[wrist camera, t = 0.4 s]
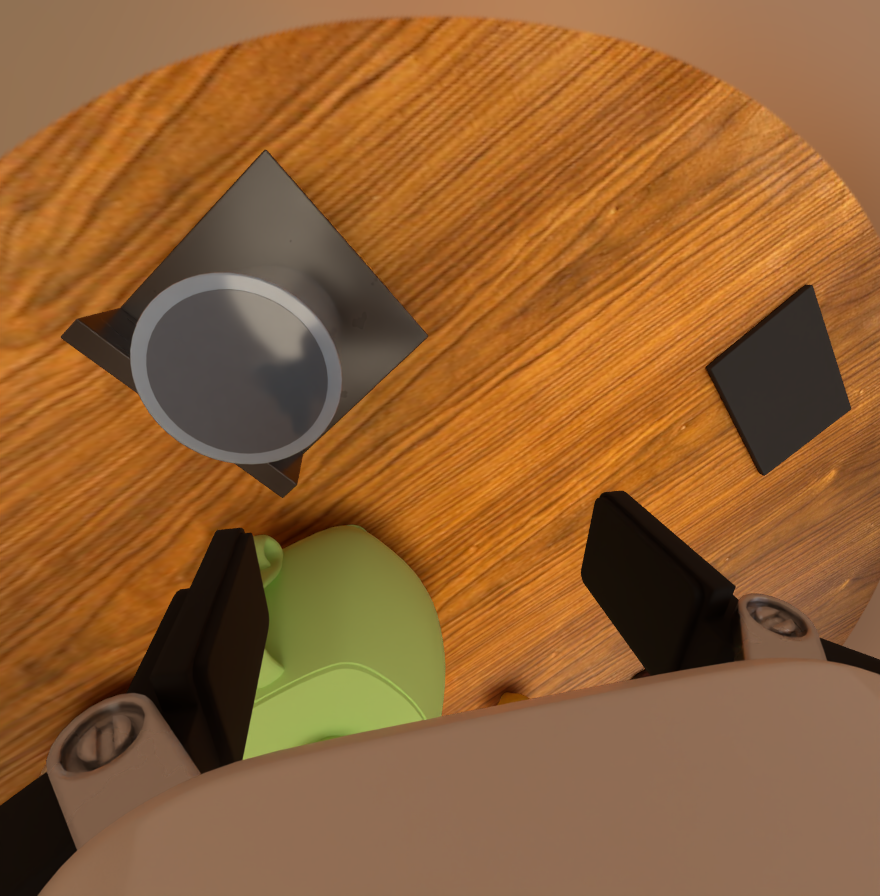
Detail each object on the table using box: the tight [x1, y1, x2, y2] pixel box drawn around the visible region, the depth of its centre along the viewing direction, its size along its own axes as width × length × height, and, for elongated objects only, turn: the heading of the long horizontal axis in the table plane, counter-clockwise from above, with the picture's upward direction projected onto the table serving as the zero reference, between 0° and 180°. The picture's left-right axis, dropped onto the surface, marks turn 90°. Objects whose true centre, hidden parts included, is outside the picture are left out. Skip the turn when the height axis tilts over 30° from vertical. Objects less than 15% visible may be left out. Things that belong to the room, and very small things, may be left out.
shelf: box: [61, 150, 428, 498], centre depth 24 cm, size 12×12×9 cm
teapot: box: [243, 525, 445, 760], centre depth 32 cm, size 25×22×16 cm
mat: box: [706, 285, 851, 476], centre depth 39 cm, size 15×10×1 cm, turn 41°
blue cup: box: [130, 264, 342, 464], centre depth 19 cm, size 7×7×10 cm
